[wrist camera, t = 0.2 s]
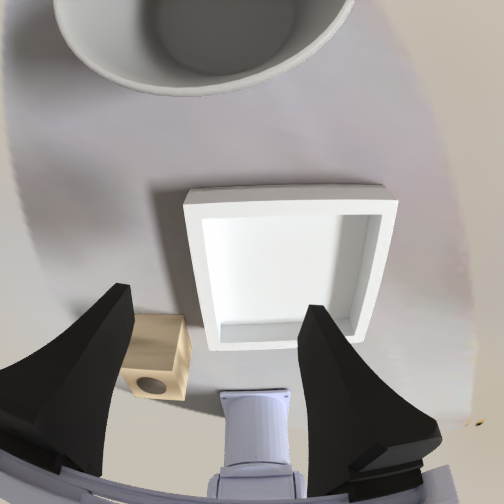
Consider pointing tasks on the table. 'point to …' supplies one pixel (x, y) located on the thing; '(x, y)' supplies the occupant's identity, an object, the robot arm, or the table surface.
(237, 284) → the tray
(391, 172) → the table surface
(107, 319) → the robot arm
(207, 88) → the mug
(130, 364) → the bore block
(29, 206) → the table surface
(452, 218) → the table surface
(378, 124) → the table surface
